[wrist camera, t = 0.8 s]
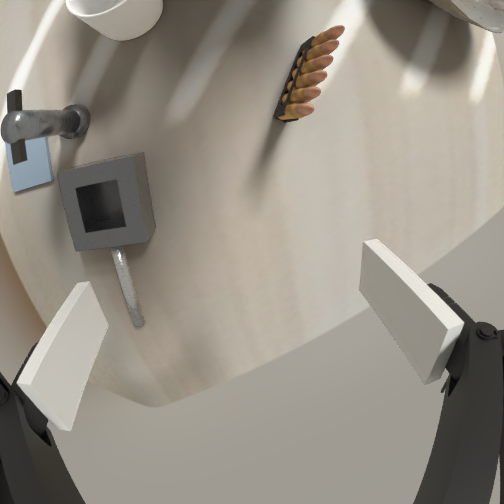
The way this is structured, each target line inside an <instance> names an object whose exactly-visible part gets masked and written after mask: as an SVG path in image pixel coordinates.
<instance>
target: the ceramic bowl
mask: <svg viewBox="0 0 504 504" xmlns="http://www.w3.org/2000/svg"><path fill="white" fill-rule="evenodd" d="M429 1H430V2H432V3H433V4H434V5H436V6H437V7H439V8H440V9H442V10H444V11H446V12H447V13H449V14H451V15H453V16H455V17H457V18H459V19H461V20H463V21H466V22H468V23H471V24H474V25H476V26H479V27H481V28H484V29H486V30H488V31H491V32H495V33H502V32H504V0H429Z"/></svg>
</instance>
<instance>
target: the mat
mask: <svg viewBox="0 0 504 504" xmlns="http://www.w3.org/2000/svg"><path fill="white" fill-rule="evenodd" d="M5 144H6V152H7V159H8V166H9V172H10V178H11V183H12V188H13V193H14V192H17V191H20V190H23V189H26V188H29V187H32V186H36V185H39V184H43V183H46V182H50V181H53V180H54V179H53V173H52V167H51V161H50V155H49V148H48V140H47V137H43V138H37V139H31V140H26V141H25V145H26V152H27V159H28V160H27V161H24V162H21V163H19V164H16V165H13V160H12V153H11V145H10V144H8V143H6V142H5Z"/></svg>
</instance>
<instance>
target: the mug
mask: <svg viewBox="0 0 504 504" xmlns="http://www.w3.org/2000/svg"><path fill="white" fill-rule="evenodd" d="M65 1H66V6H67V9H68V10H69V11H70V13H72V14H73V15H75V16H76V17H78V18H79V19H81V20H82V21H84V22H85V23H87V24H88V25H90V26H91V27H93V28H94V29H95V30H97V31H98V32H100V33H101V34H103V35H104V36H106V37H108V38H110V39H113V40H119V41H123V40H130V39H134V38H136V37H139V36H141V35H143V34H144V33H146V32H147V31H148V30H150V29H151V28H152V27H153V26H154V25H155V24H156V22H157V21H158V20H159V18H160V16H161V13H162V9H163V1H162V0H65Z"/></svg>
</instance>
